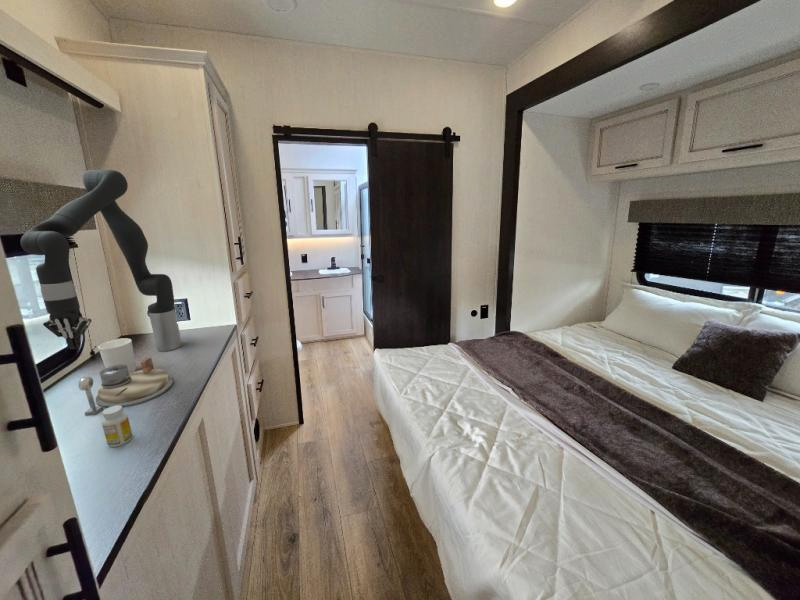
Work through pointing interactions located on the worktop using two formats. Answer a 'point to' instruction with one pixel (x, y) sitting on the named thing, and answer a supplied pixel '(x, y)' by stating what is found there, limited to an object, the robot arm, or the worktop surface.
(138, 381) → the turntable
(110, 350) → the candle holder
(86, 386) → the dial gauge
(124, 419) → the supplement bottle
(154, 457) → the worktop surface
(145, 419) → the worktop surface
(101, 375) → the cover
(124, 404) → the turntable base
